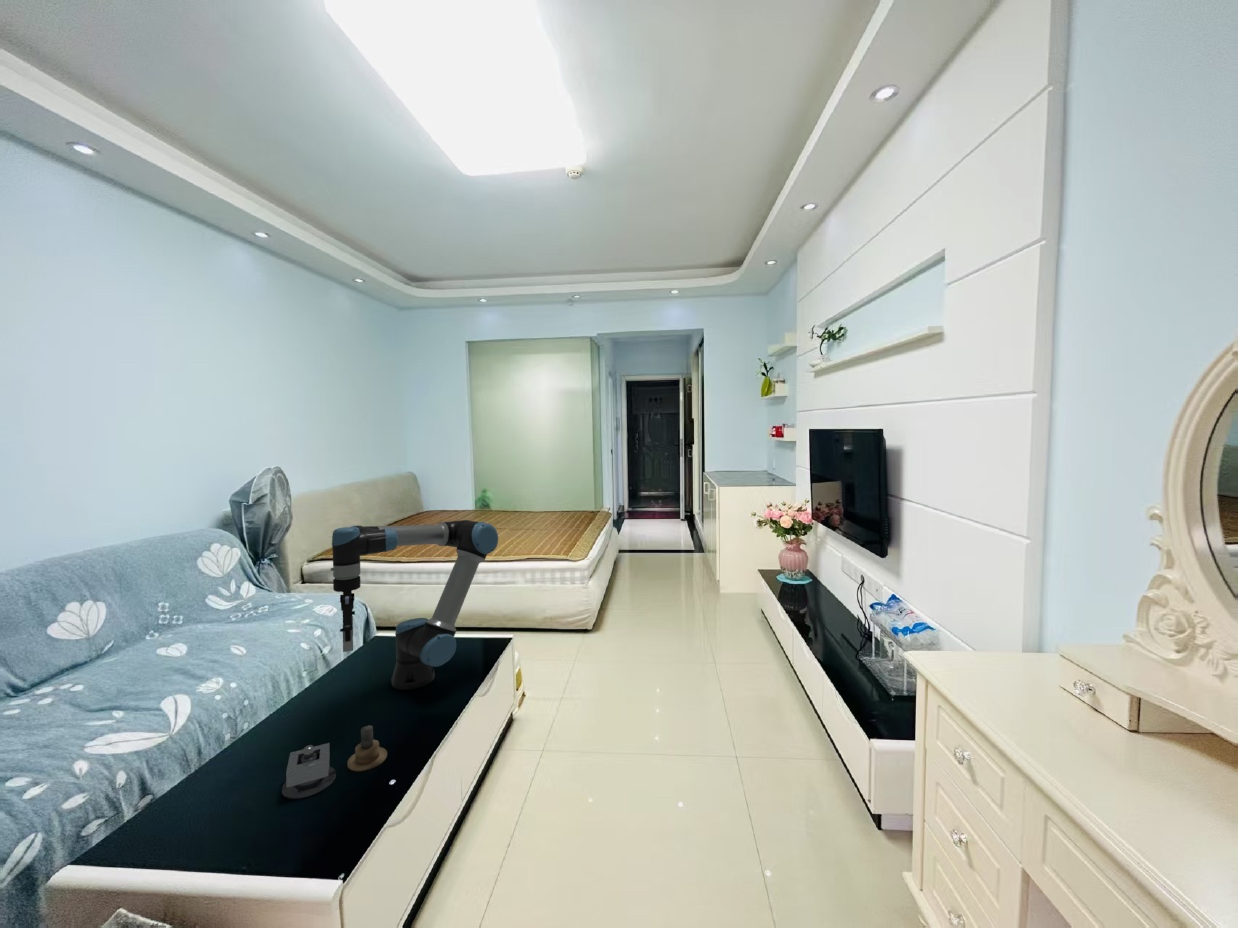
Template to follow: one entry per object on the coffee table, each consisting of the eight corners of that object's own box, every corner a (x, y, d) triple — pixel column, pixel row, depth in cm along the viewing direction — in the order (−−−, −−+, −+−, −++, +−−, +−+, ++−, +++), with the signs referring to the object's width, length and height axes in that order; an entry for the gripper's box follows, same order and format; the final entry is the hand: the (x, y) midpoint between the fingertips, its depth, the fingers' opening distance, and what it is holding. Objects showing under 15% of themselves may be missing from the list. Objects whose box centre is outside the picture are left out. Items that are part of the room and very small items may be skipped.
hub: (321, 762, 137) (320, 729, 136) (345, 777, 130) (344, 742, 130) (273, 788, 126) (272, 752, 126) (296, 805, 120) (295, 767, 120)
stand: (373, 744, 145) (373, 715, 144) (394, 755, 139) (393, 725, 139) (339, 763, 136) (339, 732, 136) (360, 775, 131) (359, 743, 131)
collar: (329, 756, 134) (329, 742, 134) (328, 775, 126) (327, 760, 126) (290, 767, 130) (290, 752, 130) (286, 787, 122) (286, 772, 122)
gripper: (334, 569, 162) (336, 632, 163) (331, 588, 140) (333, 660, 141) (359, 567, 166) (361, 628, 167) (360, 584, 144) (362, 655, 145)
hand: (348, 643), depth 154 cm, fingers open, 13 cm apart
